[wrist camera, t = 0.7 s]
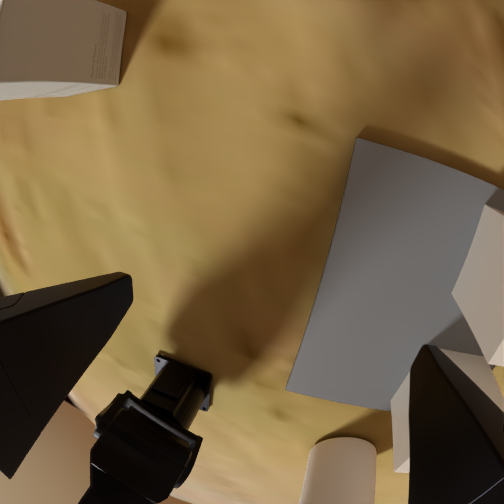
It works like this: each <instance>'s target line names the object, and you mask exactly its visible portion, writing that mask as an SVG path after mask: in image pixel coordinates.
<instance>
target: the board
mask: <svg viewBox="0 0 504 504" xmlns="http://www.w3.org/2000/svg"><path fill="white" fill-rule="evenodd" d="M484 205H488V206H490V207H493V208H495V209H497V210H500V211H502V212H504V190H503V189H501V188H499V187H496V186H494V185H492V184H490V183H488V182H485V181H483V180H481V179H478V178H476V177H473V176H471V175H469V174H466V173H464V172H461V171H459V170H456V169H453V168H451V167H448V166H445V165H443V164H440V163H437V162H434V161H432V160H429V159H426V158H423V157H420V156H417V155H414V154H411V153H408V152H405V151H402V150H398V149H395V148H392V147H388V146H385V145H382V144H378V143H375V142H371V141H367V140H364V139H360V138H356V139H355V144H354V149H353V154H352V159H351V163H350V168H349V172H348V177H347V181H346V185H345V190H344V194H343V198H342V202H341V206H340V210H339V214H338V218H337V222H336V226H335V230H334V234H333V238H332V241H331V245H330V249H329V253H328V256H327V260H326V263H325V267H324V270H323V274H322V277H321V281H320V284H319V288H318V291H317V294H316V297H315V301H314V304H313V307H312V310H311V314H310V317H309V320H308V323H307V326H306V329H305V332H304V335H303V338H302V342H301V345H300V347H299V350H298V353H297V356H296V359H295V362H294V365H293V368H292V371H291V373H290V376H289V379H288V382H287V385H286V389H285V390H287V391H291V392H295V393H299V394H303V395H307V396H312V397H316V398H320V399H325V400H330V401H335V402H339V403H344V404H350V405H355V406H361V407H366V408H372V409H378V410H385V411H391V402H390V401H391V399H392V398H393V396H394V395H395V393H396V392H397V390H398V389H399V387H400V386H401V384H402V383H403V381H404V380H405V378H406V376H407V375H408V373H409V372H410V369H411V365H412V363H413V361H414V360H415V358H416V356H417V354H418V352H419V350H420V348H421V347H422V345H424V344H430V345H435V346H437V347H438V348H440V349H445V350H450V351H456V352H461V353H467V354H473V355H478V356H484V355H483V353H482V350H481V348H480V346H479V344H478V342H477V340H476V338H475V336H474V334H473V332H472V330H471V328H470V326H469V324H468V322H467V321H466V319H465V317H464V315H463V313H462V311H461V309H460V308H459V306H458V304H457V302H456V301H455V299H454V297H453V295H452V294H451V293H452V291H453V289H454V286H455V284H456V282H457V280H458V277H459V275H460V272H461V270H462V268H463V265H464V263H465V260H466V258H467V255H468V252H469V250H470V247H471V244H472V242H473V239H474V236H475V233H476V230H477V227H478V224H479V221H480V218H481V215H482V211H483V208H484ZM489 365H490V368H491V370H493V368H494V367H495V365H492V364H489Z"/></svg>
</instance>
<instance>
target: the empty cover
mask: <svg viewBox="0 0 504 504" xmlns="http://www.w3.org/2000/svg"><path fill="white" fill-rule="evenodd" d="M439 349H440V348H439ZM440 350H441V351H442V352H443V353H444V354H446V355H447V356H448V357H449V358H450V359H451V360H452V361H453V362H454V363H455V364H456V365H457V366H458V367H459V368H460V369H461V370H462V371H463V372H464V373H465V374H466V375H467V376H468V377H469V378H470V379H471V380H472V381H473V382H474V383H475V384H476V385H477V386H478V387H479V388H480V389H481V390H482V391H483V392H484V393H485V394H486V395H487V396H488V397H489V398H490V399H491V400H492V401H493V402H494V403H495V404H496V405H497V406H498V407H499V408H500V409H501V410H502V411H503V412H504V399H503V396H502V394H501V391H500V389H499V386H498V384H497V381H496V379H495V377H494V374H493V372H492V370H491V368H490V365H489V364H488V363H487V361H486V359H485V357H484V356H478V355H473V354H467V353H461V352H456V351H450V350H445V349H440ZM409 389H410V372H409V373H408V375H407V376H406V378H405V380H404V381H403V383H402V384H401V386H400V387H399V389H398V390H397V392H396V393H395V395H394V396H393V398H392V399H391V401H390V402H391V415H392V431H393V459H394V472H402V473H409V469H410V450H409V416H408V414H409Z"/></svg>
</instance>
